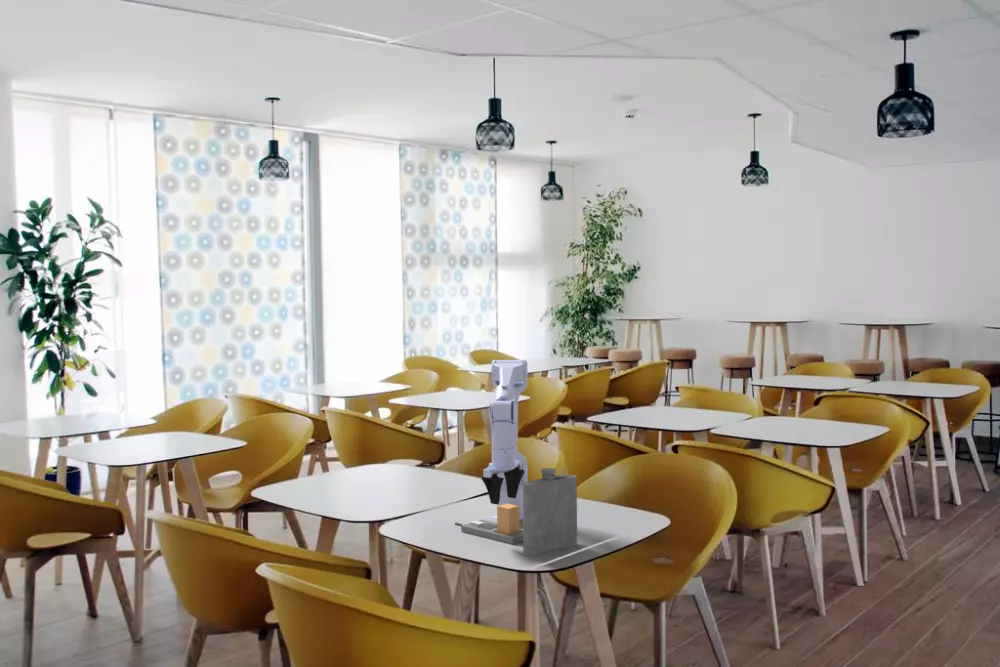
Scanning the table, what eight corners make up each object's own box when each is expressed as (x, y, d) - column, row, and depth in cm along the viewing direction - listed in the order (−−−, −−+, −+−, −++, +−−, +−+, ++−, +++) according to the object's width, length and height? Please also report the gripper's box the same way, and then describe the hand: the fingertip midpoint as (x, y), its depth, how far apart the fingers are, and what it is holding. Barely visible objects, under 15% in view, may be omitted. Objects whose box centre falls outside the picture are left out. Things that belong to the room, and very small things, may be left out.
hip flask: (528, 558, 211) (528, 474, 210) (518, 554, 214) (517, 472, 213) (579, 546, 220) (579, 466, 219) (569, 543, 224) (568, 463, 223)
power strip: (466, 523, 243) (466, 514, 243) (533, 539, 227) (533, 529, 227) (445, 529, 237) (445, 520, 237) (512, 546, 221) (512, 536, 221)
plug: (507, 534, 230) (507, 503, 230) (519, 536, 228) (519, 505, 227) (497, 537, 227) (497, 506, 227) (509, 540, 225) (508, 508, 224)
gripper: (506, 441, 235) (506, 493, 235) (473, 450, 223) (473, 504, 223) (528, 444, 230) (529, 496, 231) (496, 453, 219) (496, 508, 219)
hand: (503, 500), depth 227 cm, fingers open, 7 cm apart
